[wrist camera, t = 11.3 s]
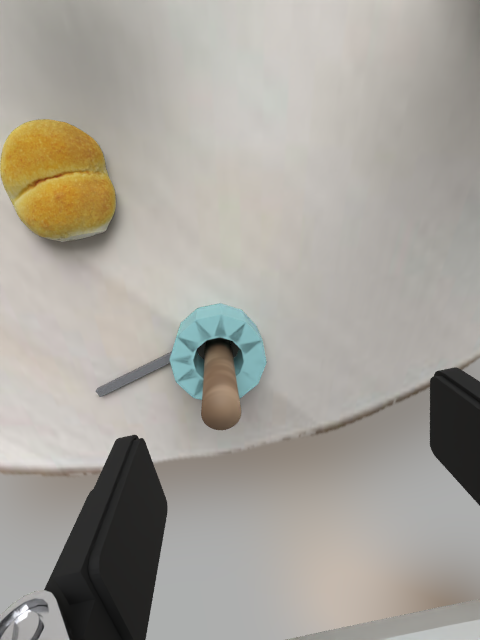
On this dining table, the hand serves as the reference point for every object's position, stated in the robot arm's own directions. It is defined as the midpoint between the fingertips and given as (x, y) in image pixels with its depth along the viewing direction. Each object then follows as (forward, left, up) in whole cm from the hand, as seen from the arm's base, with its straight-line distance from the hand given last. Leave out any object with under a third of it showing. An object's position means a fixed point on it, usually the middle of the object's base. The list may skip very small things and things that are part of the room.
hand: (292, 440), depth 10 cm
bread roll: (+12, -12, -22) cm, 28 cm away
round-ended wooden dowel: (+3, +5, -21) cm, 22 cm away
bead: (+3, +5, -21) cm, 22 cm away
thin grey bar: (+12, +6, -21) cm, 25 cm away
